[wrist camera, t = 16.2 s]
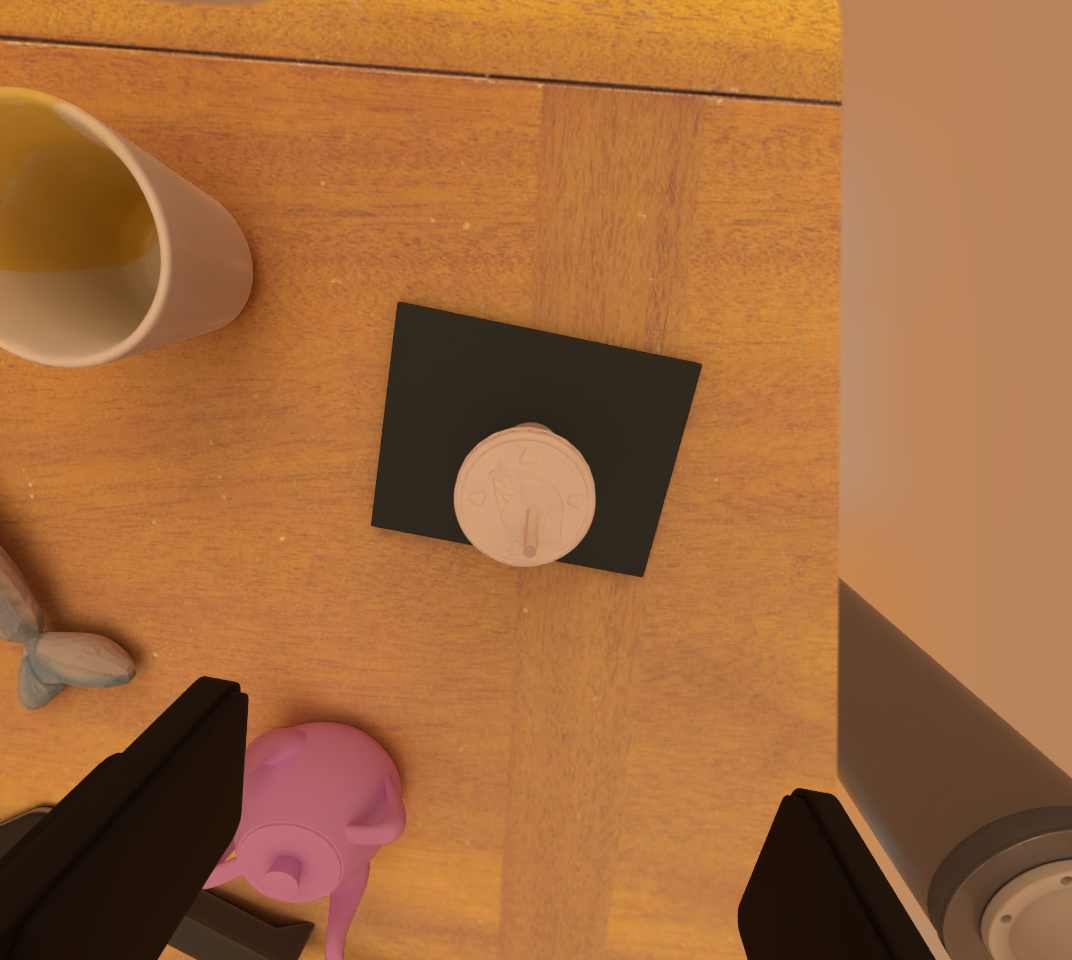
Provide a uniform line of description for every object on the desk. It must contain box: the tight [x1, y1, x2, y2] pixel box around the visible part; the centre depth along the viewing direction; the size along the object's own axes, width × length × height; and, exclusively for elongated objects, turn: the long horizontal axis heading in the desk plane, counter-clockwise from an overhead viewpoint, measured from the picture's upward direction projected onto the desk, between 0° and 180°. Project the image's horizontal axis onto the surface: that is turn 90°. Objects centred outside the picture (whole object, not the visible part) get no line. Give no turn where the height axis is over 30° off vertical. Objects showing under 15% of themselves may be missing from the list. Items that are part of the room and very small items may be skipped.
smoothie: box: [454, 422, 596, 567], centre depth 26 cm, size 6×6×14 cm
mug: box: [0, 86, 253, 368], centre depth 26 cm, size 14×10×10 cm
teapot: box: [202, 722, 406, 960], centre depth 37 cm, size 12×14×9 cm
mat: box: [371, 302, 702, 577], centre depth 33 cm, size 18×14×1 cm
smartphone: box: [0, 806, 54, 858], centre depth 44 cm, size 8×1×15 cm
